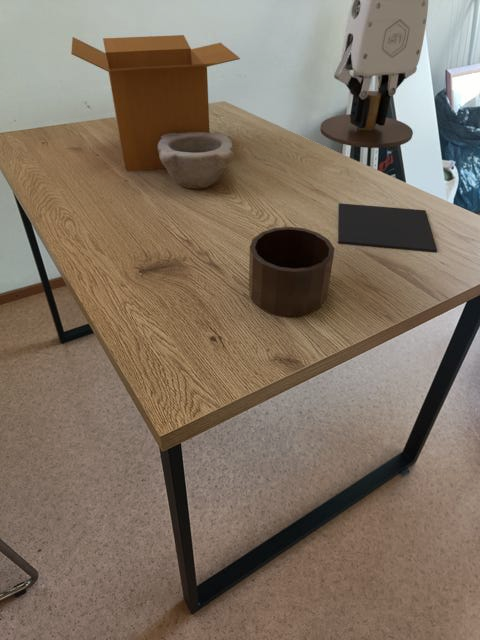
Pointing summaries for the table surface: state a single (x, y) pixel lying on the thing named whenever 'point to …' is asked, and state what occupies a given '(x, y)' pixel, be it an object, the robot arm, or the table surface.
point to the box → (155, 89)
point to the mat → (385, 227)
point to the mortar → (195, 157)
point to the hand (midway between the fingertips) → (367, 123)
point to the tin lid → (367, 129)
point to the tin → (290, 271)
